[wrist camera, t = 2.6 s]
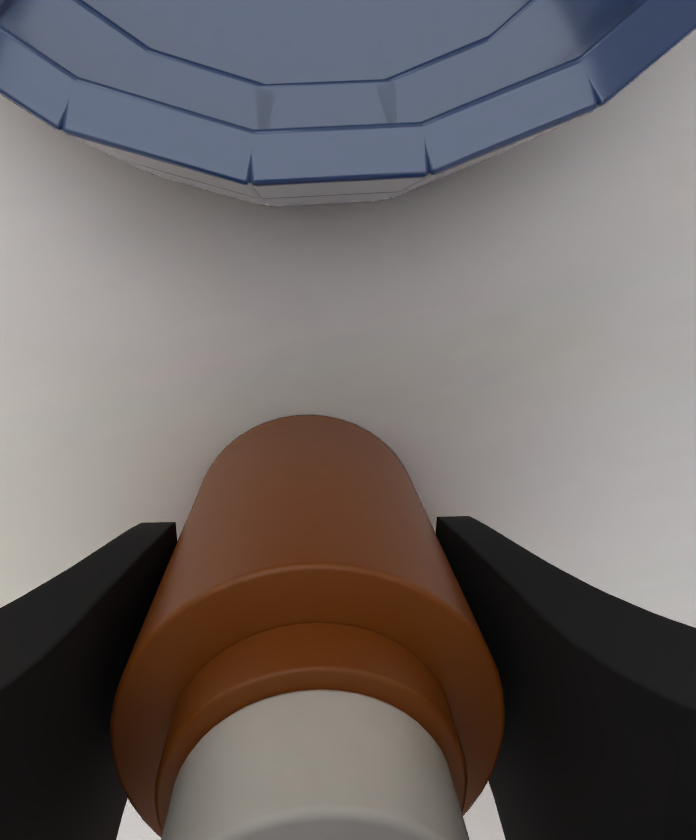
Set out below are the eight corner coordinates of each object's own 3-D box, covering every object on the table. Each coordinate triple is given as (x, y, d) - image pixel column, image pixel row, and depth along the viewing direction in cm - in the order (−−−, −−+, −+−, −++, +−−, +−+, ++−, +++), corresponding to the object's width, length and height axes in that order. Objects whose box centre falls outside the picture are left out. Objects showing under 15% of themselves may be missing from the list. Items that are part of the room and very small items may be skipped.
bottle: (459, 484, 13) (703, 857, 5) (340, 646, 14) (391, 1170, 6) (269, 370, 12) (206, 617, 4) (155, 554, 13) (-74, 1042, 5)
